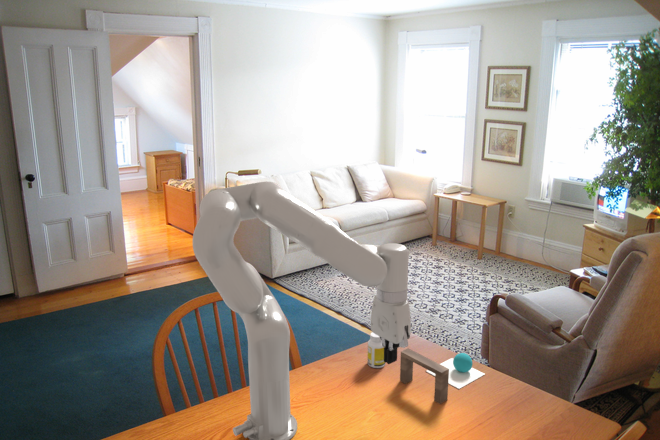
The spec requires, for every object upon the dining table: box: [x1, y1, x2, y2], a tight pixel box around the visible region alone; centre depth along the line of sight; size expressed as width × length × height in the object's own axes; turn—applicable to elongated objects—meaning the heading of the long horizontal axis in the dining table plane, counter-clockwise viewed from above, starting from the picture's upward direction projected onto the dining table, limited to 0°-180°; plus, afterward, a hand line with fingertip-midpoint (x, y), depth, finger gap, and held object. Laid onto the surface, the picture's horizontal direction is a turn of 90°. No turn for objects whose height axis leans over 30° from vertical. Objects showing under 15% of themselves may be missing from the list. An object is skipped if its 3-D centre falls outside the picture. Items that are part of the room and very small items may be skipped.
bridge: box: [399, 348, 449, 405], centre depth 143 cm, size 3×14×9 cm, turn 39°
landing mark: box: [425, 357, 486, 390], centre depth 153 cm, size 12×12×1 cm
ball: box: [453, 352, 473, 373], centre depth 153 cm, size 6×6×6 cm
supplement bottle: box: [367, 331, 387, 369], centre depth 157 cm, size 5×5×10 cm
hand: (390, 361), depth 133 cm, fingers closed
